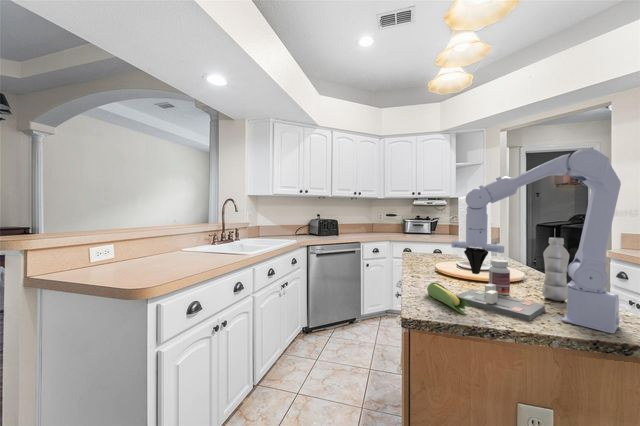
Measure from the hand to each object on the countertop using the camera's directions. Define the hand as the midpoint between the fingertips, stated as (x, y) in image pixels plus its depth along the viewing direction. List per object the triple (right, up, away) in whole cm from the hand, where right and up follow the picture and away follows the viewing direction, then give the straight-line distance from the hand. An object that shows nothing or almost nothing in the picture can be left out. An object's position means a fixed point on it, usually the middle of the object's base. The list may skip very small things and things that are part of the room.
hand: (475, 273), depth 85 cm
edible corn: (-9, -10, +1) cm, 13 cm away
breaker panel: (+6, -9, -1) cm, 11 cm away
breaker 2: (+3, -8, -3) cm, 9 cm away
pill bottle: (+15, -10, +12) cm, 21 cm away
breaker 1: (+7, -8, +4) cm, 11 cm away
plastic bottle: (+28, -10, +4) cm, 30 cm away
